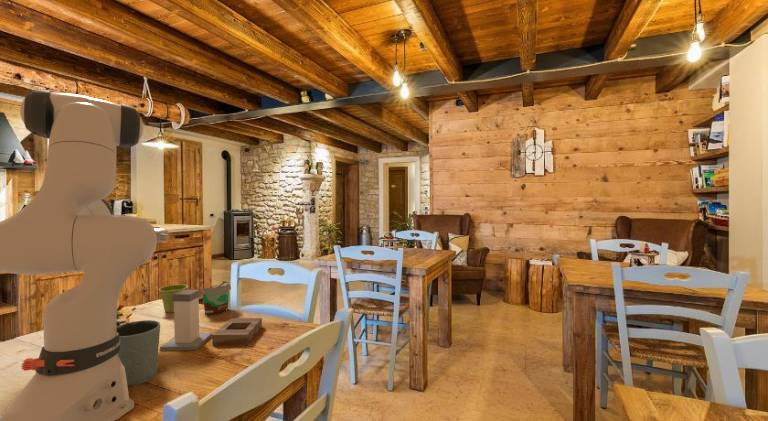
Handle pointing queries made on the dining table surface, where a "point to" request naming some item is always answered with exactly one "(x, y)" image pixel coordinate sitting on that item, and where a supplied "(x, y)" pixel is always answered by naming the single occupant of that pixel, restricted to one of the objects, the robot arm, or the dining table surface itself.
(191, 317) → the plug
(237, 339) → the socket block
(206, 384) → the dining table surface
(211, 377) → the dining table surface
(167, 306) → the plant pot
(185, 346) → the mat
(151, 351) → the grey green bucket
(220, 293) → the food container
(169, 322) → the dining table surface
